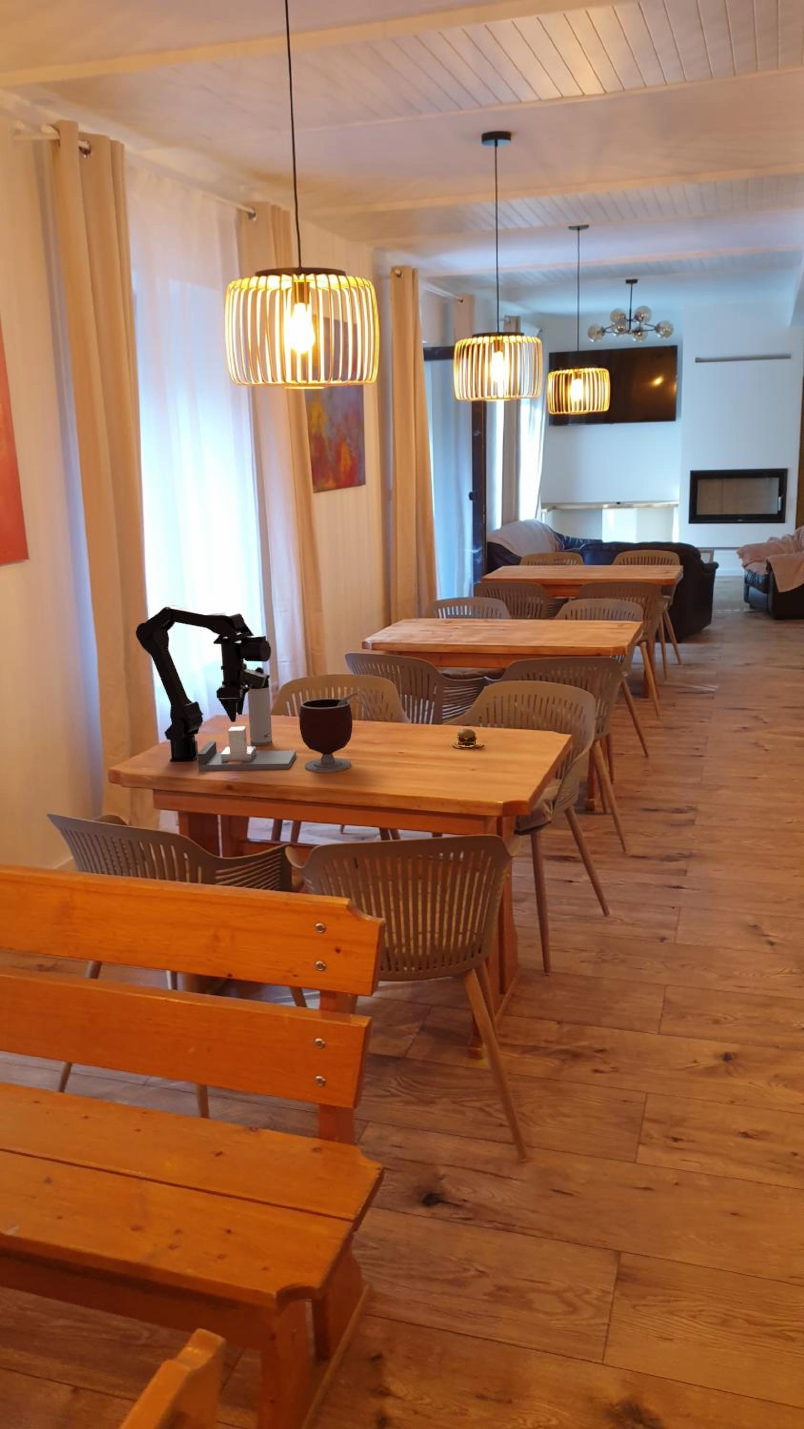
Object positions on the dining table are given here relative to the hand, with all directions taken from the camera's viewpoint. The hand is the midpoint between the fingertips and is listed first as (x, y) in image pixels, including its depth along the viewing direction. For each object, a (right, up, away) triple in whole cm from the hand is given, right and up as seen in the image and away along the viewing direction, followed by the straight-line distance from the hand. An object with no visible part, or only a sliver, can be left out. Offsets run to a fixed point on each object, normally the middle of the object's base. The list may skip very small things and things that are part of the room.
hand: (236, 718), depth 305 cm
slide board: (+3, -12, +3) cm, 13 cm away
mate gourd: (+25, -13, -4) cm, 29 cm away
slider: (0, -11, +2) cm, 11 cm away
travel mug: (+4, -8, +24) cm, 26 cm away
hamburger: (+63, -9, +14) cm, 65 cm away
